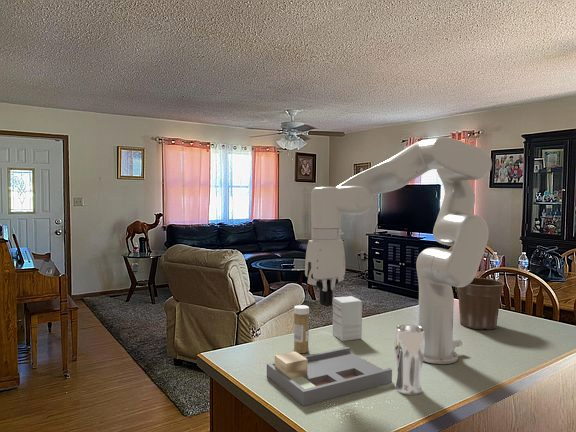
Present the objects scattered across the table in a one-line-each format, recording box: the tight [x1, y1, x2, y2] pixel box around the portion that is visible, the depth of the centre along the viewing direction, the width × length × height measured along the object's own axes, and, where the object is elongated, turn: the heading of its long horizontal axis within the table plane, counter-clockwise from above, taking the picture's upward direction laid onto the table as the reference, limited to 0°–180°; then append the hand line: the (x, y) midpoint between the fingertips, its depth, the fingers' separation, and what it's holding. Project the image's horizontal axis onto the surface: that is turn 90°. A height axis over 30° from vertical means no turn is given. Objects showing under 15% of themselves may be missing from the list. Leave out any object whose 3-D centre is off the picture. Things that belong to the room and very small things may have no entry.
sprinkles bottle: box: [293, 304, 310, 354], centre depth 129 cm, size 5×5×13 cm
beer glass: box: [394, 323, 425, 396], centre depth 104 cm, size 7×7×15 cm
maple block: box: [274, 351, 308, 379], centre depth 108 cm, size 6×6×4 cm
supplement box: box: [332, 295, 363, 342], centre depth 142 cm, size 7×7×13 cm
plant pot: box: [456, 277, 505, 331], centre depth 156 cm, size 16×16×16 cm
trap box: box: [266, 346, 393, 407], centre depth 110 cm, size 26×18×3 cm
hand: (326, 304), depth 112 cm, fingers closed
